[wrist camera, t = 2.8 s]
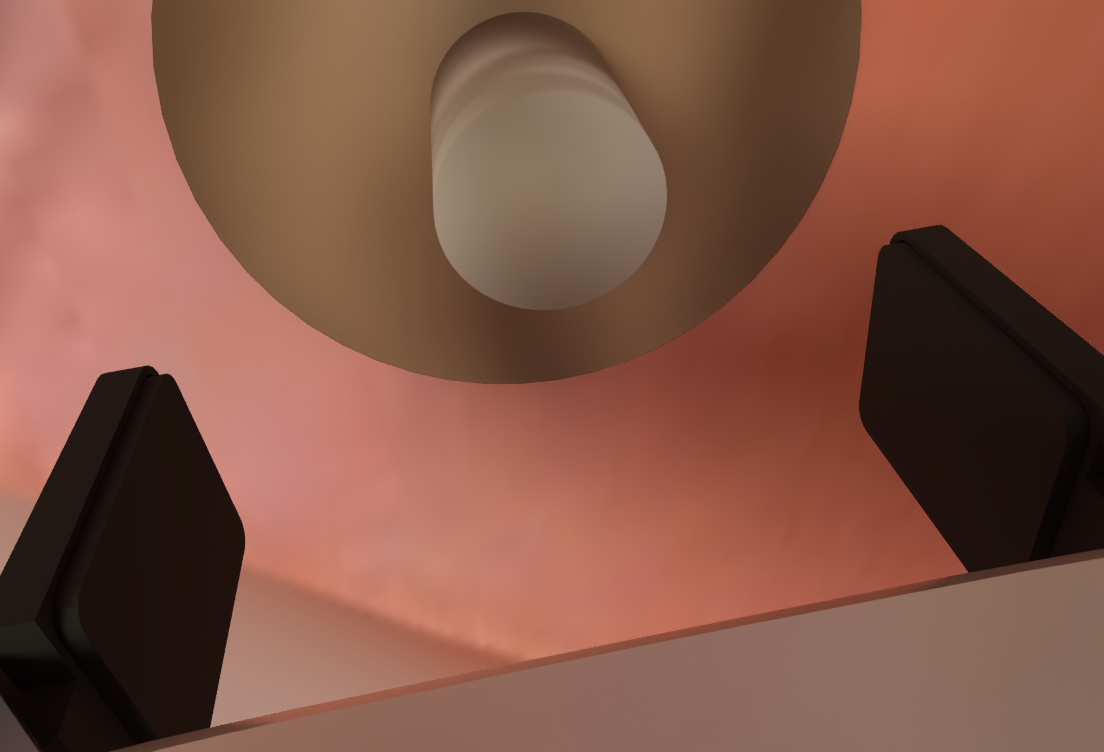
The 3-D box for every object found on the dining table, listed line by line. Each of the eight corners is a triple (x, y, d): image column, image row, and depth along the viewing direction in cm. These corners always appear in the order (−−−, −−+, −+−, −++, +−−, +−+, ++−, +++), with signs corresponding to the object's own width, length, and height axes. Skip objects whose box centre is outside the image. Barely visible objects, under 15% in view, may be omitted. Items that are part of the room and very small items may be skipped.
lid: (885, -390, 15) (1104, -450, 10) (812, 317, 24) (910, 459, 19) (25, -281, 14) (-170, -291, 10) (286, 400, 23) (252, 568, 19)
